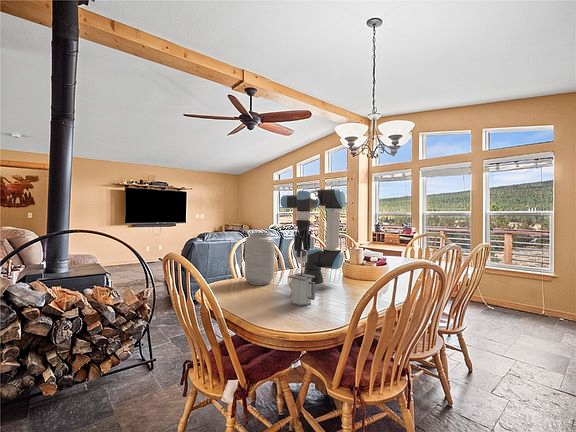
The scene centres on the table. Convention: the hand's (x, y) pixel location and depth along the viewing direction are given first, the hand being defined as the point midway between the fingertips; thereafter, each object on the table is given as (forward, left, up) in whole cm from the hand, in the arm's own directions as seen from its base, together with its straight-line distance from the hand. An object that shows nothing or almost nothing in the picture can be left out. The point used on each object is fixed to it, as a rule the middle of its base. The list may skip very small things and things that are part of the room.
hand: (302, 262), depth 163 cm
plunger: (0, 0, -10) cm, 10 cm away
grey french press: (0, +1, -22) cm, 22 cm away
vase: (-17, -47, -22) cm, 55 cm away
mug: (-16, -12, -22) cm, 30 cm away
